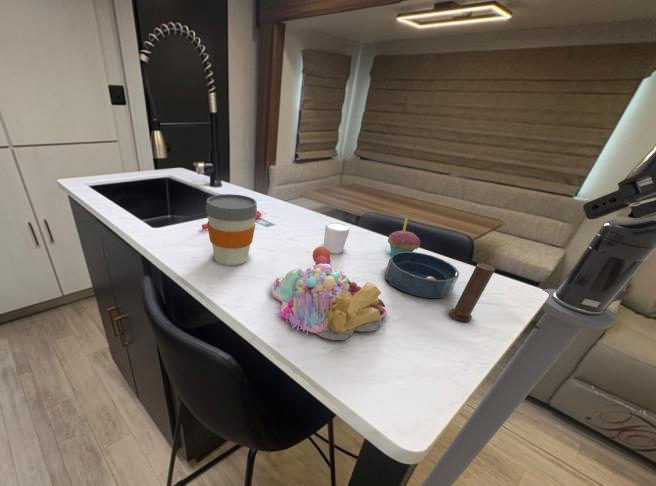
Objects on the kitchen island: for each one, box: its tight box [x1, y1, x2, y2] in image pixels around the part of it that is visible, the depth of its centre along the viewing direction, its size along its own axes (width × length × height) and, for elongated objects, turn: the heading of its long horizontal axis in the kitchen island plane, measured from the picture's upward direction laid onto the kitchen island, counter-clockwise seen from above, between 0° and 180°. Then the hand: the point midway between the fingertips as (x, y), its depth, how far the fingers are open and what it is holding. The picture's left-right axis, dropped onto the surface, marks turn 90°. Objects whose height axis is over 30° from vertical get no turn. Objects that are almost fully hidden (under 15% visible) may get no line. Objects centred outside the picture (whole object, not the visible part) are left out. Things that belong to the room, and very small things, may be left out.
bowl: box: [384, 251, 460, 299], centre depth 75 cm, size 15×15×5 cm
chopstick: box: [201, 210, 262, 231], centre depth 103 cm, size 24×2×5 cm
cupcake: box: [387, 215, 421, 256], centre depth 86 cm, size 9×8×12 cm
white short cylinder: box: [322, 222, 350, 254], centre depth 89 cm, size 7×7×7 cm
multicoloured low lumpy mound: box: [271, 245, 388, 341], centre depth 64 cm, size 25×24×9 cm
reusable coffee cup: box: [205, 193, 258, 266], centre depth 78 cm, size 13×13×15 cm
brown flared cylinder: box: [448, 262, 496, 324], centre depth 61 cm, size 4×4×12 cm
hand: (610, 211), depth 40 cm, fingers open, 8 cm apart
